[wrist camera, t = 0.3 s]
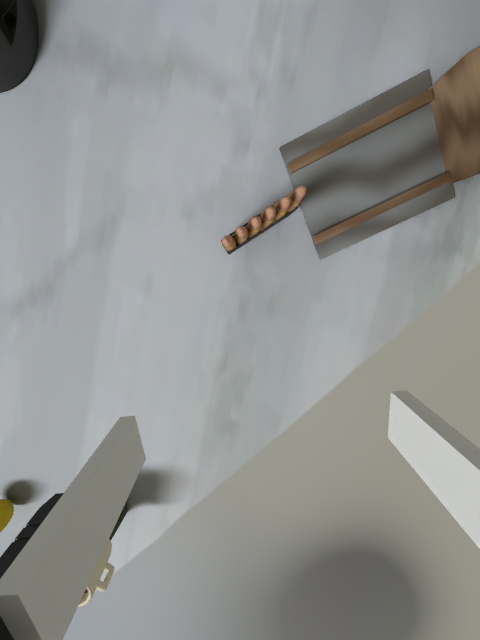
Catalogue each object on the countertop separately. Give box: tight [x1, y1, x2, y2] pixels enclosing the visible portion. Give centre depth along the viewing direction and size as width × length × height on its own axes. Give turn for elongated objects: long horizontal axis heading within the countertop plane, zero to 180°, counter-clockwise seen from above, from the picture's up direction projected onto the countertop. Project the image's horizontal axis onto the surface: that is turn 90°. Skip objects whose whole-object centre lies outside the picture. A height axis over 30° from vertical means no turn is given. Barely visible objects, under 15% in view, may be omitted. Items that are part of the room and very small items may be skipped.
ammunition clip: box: [221, 186, 306, 254], centre depth 29 cm, size 11×2×12 cm, turn 122°
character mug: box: [78, 505, 126, 607], centre depth 42 cm, size 11×7×13 cm, turn 48°
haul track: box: [279, 46, 480, 259], centre depth 29 cm, size 16×24×6 cm
